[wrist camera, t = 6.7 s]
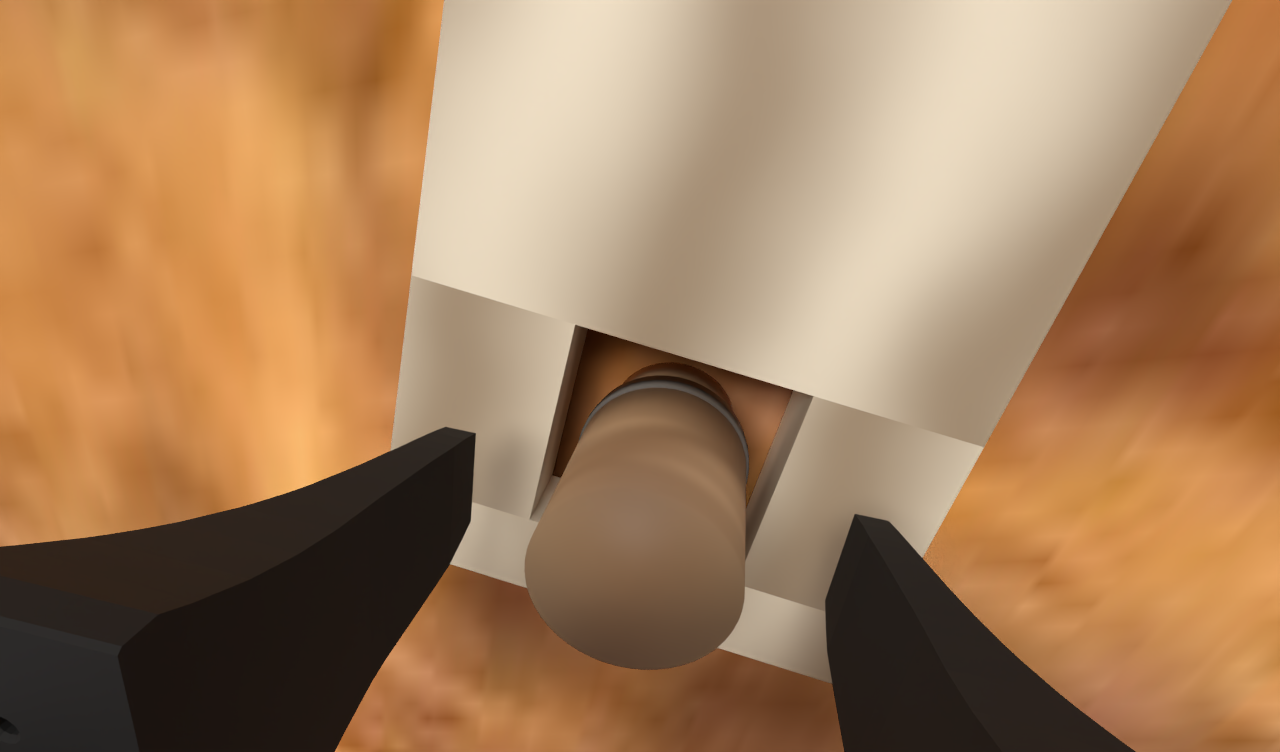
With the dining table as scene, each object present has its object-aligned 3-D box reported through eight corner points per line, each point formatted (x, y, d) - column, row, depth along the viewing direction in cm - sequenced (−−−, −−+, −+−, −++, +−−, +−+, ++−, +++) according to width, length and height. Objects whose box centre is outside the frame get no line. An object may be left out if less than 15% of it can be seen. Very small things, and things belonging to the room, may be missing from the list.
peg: (764, 366, 15) (773, 516, 10) (731, 498, 17) (721, 693, 11) (608, 334, 16) (531, 463, 10) (589, 467, 17) (513, 642, 12)
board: (1189, -49, 11) (1274, -77, 9) (838, 628, 18) (849, 689, 16) (520, -232, 12) (479, -294, 10) (416, 497, 18) (379, 542, 16)
